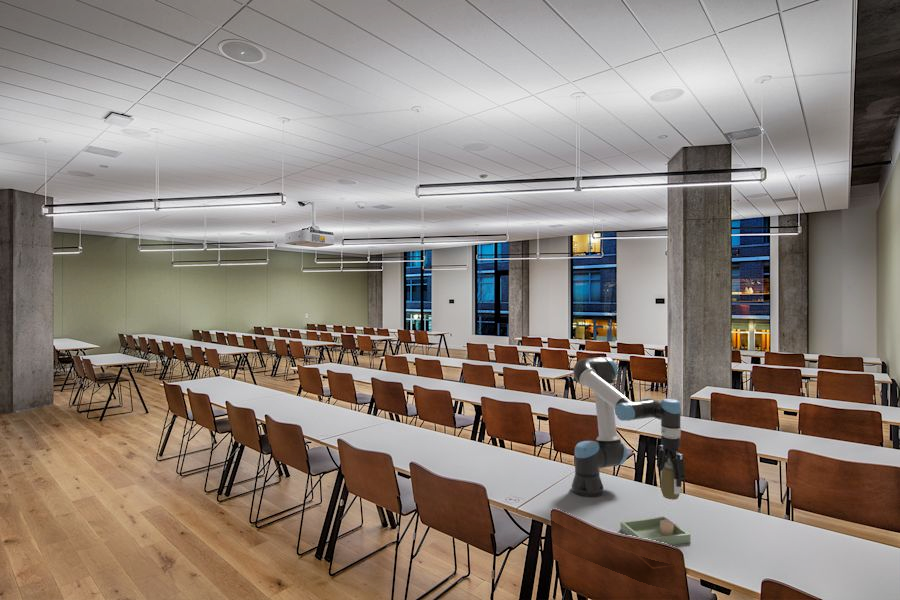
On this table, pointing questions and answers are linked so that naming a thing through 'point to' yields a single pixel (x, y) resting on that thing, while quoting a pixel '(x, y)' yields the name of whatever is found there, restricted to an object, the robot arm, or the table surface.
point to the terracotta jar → (666, 528)
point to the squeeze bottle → (668, 481)
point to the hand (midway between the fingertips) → (670, 489)
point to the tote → (654, 531)
